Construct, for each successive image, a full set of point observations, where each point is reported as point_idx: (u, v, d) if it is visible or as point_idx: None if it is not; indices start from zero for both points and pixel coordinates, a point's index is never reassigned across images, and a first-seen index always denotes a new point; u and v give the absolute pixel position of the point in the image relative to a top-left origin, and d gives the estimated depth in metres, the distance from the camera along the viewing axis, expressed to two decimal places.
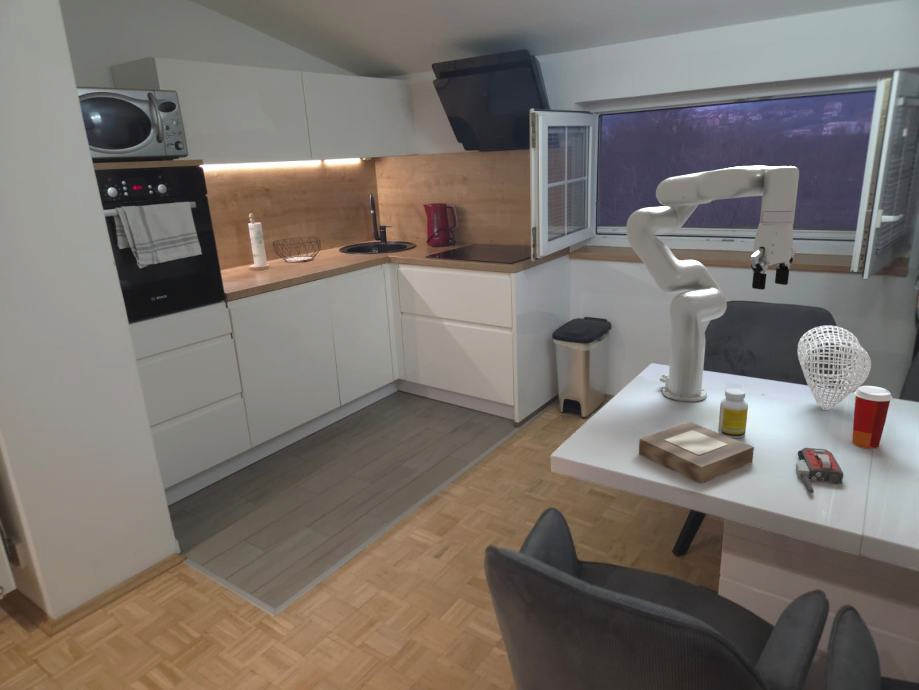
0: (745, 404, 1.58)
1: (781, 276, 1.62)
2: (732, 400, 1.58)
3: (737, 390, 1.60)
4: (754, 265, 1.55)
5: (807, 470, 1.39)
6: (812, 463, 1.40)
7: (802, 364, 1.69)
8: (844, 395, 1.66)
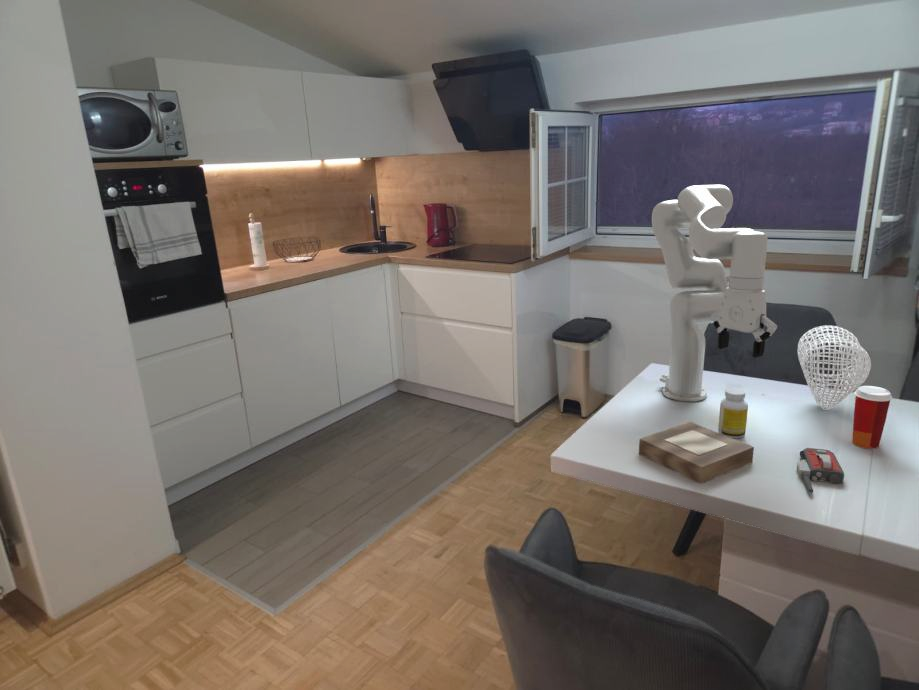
0: (745, 404, 1.58)
1: (725, 340, 1.60)
2: (732, 400, 1.58)
3: (737, 390, 1.60)
4: (772, 333, 1.48)
5: (808, 470, 1.39)
6: (813, 463, 1.40)
7: (802, 364, 1.69)
8: (844, 395, 1.66)
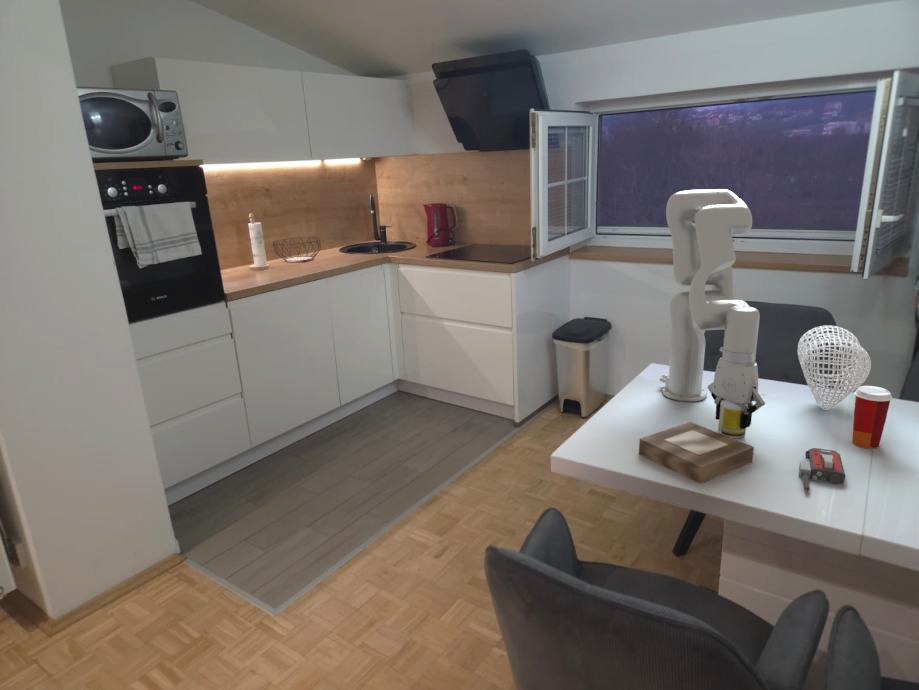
0: None
1: None
2: None
3: None
4: (758, 408, 1.55)
5: (808, 469, 1.39)
6: (815, 462, 1.40)
7: (802, 364, 1.69)
8: (844, 395, 1.66)
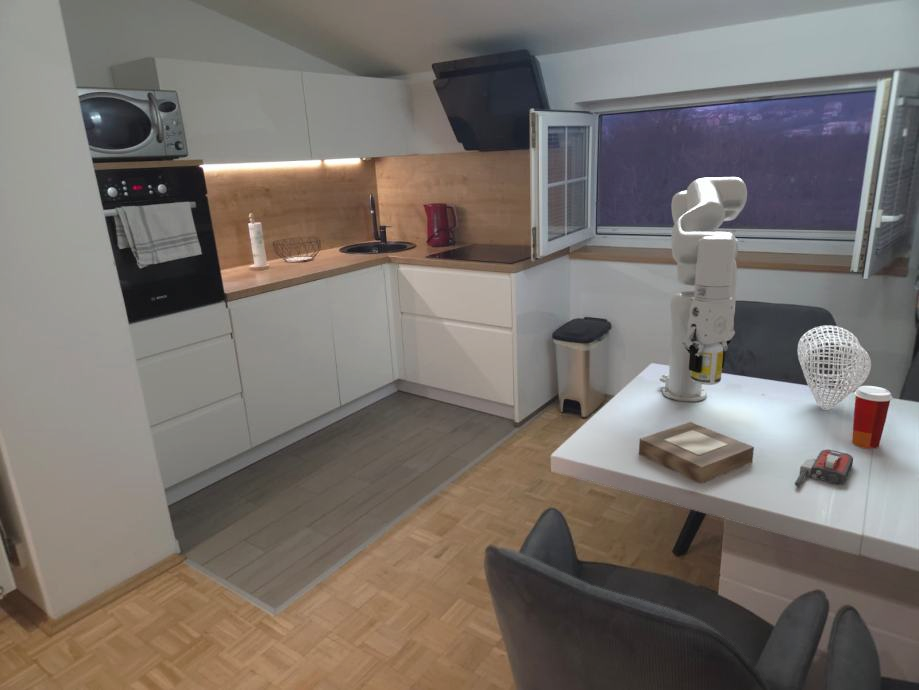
0: None
1: None
2: None
3: None
4: None
5: (809, 467, 1.40)
6: (818, 462, 1.41)
7: (802, 364, 1.69)
8: (844, 395, 1.66)
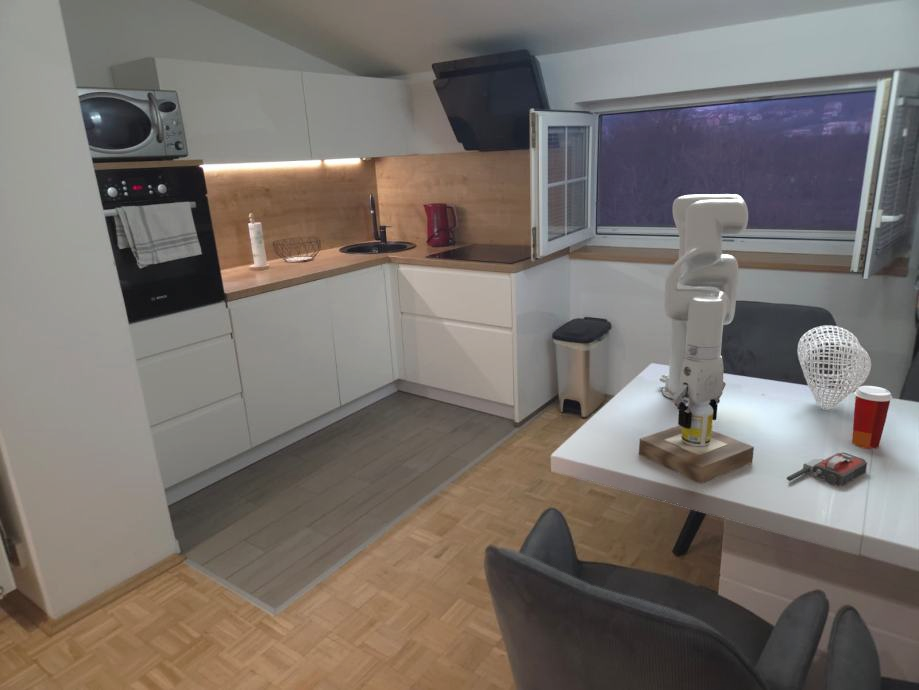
0: None
1: None
2: (708, 405, 1.45)
3: None
4: None
5: (812, 465, 1.41)
6: (824, 462, 1.41)
7: (802, 364, 1.69)
8: (844, 395, 1.66)
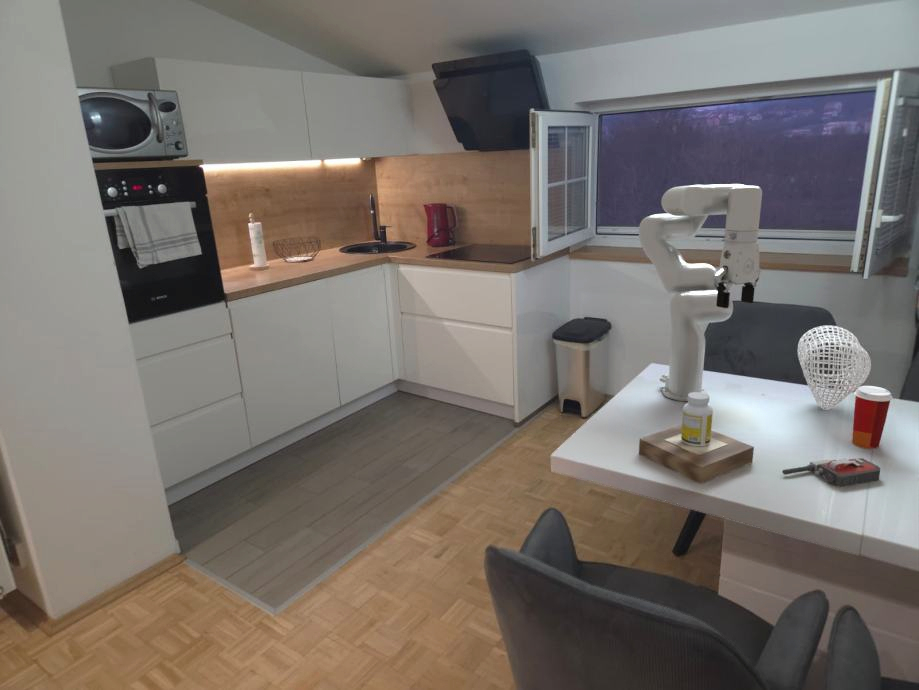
0: None
1: None
2: (707, 404, 1.45)
3: (694, 394, 1.47)
4: None
5: (817, 464, 1.41)
6: None
7: (802, 364, 1.69)
8: (844, 395, 1.66)
